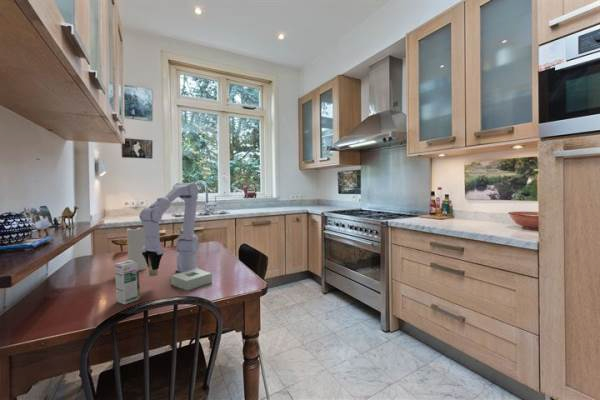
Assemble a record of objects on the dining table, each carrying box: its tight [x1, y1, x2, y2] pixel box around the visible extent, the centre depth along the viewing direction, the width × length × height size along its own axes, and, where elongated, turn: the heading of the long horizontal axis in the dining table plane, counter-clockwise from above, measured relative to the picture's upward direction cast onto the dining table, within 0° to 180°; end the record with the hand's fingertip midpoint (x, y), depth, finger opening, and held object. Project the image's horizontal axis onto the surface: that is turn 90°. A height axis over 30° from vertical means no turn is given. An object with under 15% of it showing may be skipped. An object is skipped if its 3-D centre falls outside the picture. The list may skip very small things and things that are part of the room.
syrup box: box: [114, 260, 141, 305], centre depth 102 cm, size 6×6×14 cm
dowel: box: [148, 256, 159, 277], centre depth 115 cm, size 3×3×8 cm
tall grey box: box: [126, 227, 148, 271], centre depth 139 cm, size 7×6×21 cm
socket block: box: [170, 267, 213, 291], centre depth 119 cm, size 12×12×4 cm
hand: (153, 268), depth 115 cm, fingers closed on dowel, 3 cm apart
